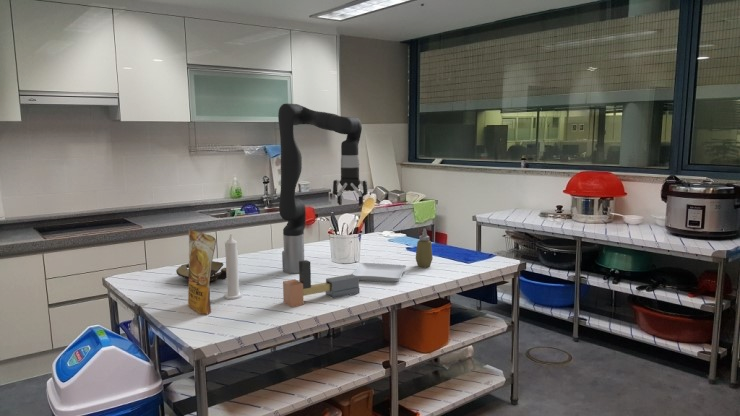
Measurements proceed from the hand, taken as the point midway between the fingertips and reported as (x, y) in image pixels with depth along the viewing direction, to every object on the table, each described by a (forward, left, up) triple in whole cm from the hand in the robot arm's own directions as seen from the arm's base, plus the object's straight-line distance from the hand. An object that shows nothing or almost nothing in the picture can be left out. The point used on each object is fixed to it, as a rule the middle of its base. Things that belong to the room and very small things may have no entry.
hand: (350, 205), depth 220 cm
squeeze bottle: (+27, +33, -33) cm, 54 cm away
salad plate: (+10, +12, -34) cm, 37 cm away
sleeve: (+1, -16, -33) cm, 37 cm away
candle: (-40, -28, -33) cm, 59 cm away
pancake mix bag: (-45, -43, -33) cm, 71 cm away
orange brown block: (-14, -31, -33) cm, 47 cm away
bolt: (-8, -24, -30) cm, 40 cm away
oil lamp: (-62, -10, -33) cm, 71 cm away
